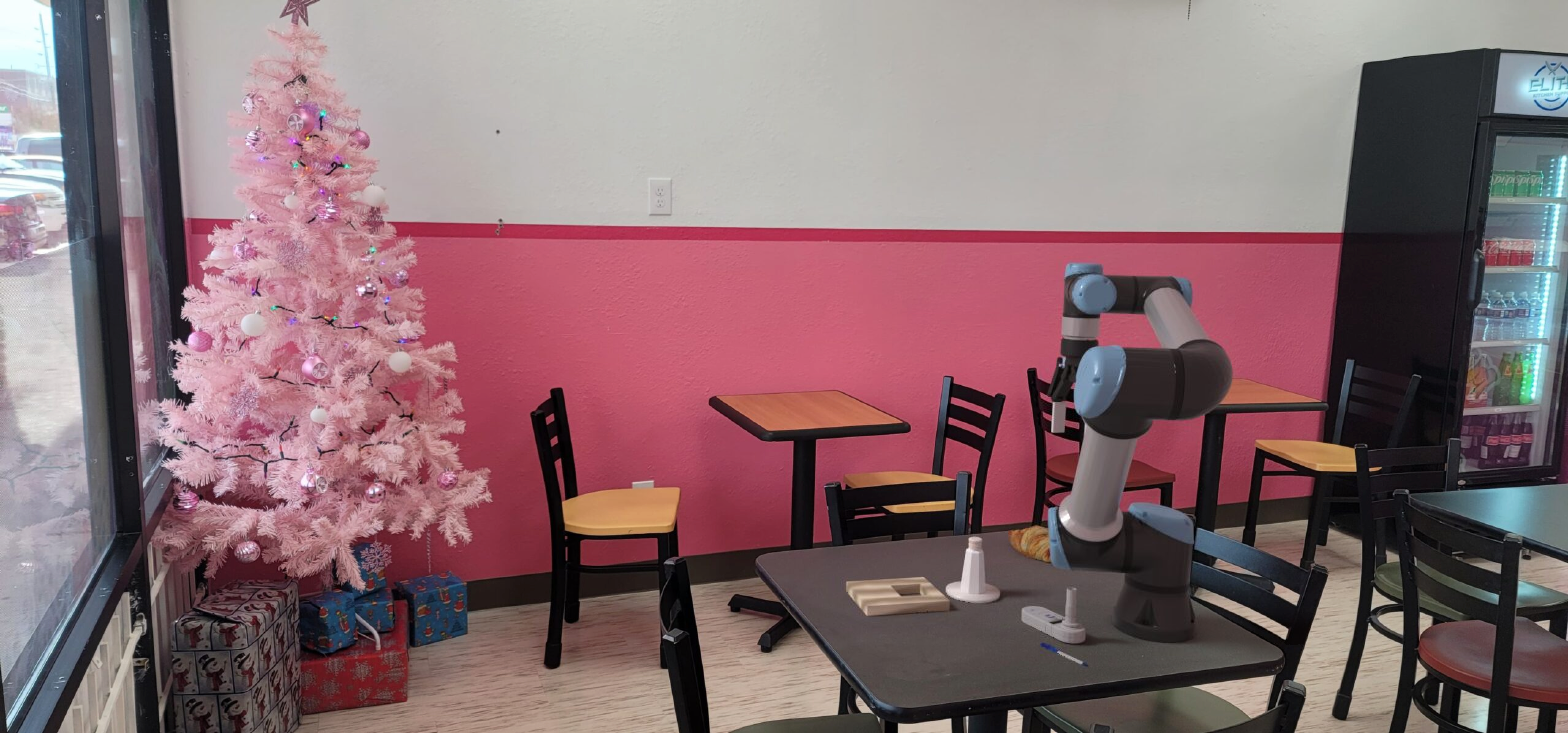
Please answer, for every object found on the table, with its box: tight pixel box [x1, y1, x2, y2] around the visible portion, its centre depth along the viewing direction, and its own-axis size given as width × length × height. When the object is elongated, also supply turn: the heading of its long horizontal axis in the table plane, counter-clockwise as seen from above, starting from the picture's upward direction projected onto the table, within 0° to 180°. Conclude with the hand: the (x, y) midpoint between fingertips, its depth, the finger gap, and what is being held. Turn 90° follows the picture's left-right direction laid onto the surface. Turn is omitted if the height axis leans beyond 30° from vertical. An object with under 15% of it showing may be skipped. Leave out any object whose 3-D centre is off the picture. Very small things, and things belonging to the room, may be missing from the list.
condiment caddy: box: [845, 576, 951, 617], centre depth 206 cm, size 14×17×2 cm
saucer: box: [945, 580, 1001, 604], centre depth 211 cm, size 11×11×1 cm
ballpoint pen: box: [1040, 642, 1088, 667], centre depth 181 cm, size 10×1×1 cm, turn 35°
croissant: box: [1007, 524, 1052, 563], centre depth 238 cm, size 21×10×8 cm, turn 28°
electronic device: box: [1021, 586, 1087, 645], centre depth 193 cm, size 5×10×15 cm
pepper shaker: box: [961, 536, 986, 594], centre depth 211 cm, size 5×5×11 cm
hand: (1073, 438), depth 214 cm, fingers open, 13 cm apart
